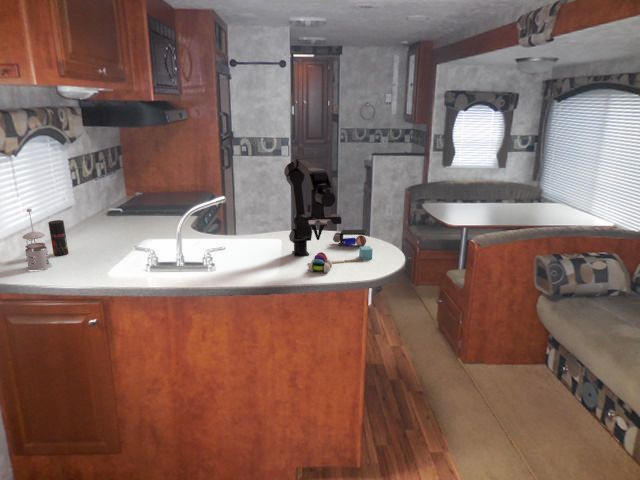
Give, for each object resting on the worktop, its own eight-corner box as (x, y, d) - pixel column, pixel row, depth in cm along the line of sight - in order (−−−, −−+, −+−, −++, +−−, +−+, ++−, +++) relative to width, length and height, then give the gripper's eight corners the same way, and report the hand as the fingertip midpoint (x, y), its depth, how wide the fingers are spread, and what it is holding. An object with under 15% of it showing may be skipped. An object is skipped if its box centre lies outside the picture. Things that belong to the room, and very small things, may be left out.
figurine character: (333, 249, 233) (366, 247, 230) (331, 233, 230) (364, 231, 228) (335, 245, 239) (367, 243, 236) (333, 230, 237) (365, 227, 234)
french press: (31, 273, 200) (20, 212, 193) (20, 267, 207) (9, 208, 200) (56, 267, 207) (46, 208, 200) (45, 261, 214) (35, 204, 207)
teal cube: (359, 256, 218) (359, 246, 217) (369, 255, 219) (369, 246, 218) (362, 259, 214) (362, 249, 213) (372, 259, 215) (372, 249, 214)
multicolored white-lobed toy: (333, 267, 206) (333, 250, 204) (327, 275, 197) (327, 257, 195) (313, 265, 208) (313, 248, 206) (306, 273, 199) (306, 256, 197)
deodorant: (68, 255, 222) (63, 222, 218) (53, 257, 219) (48, 224, 215) (68, 251, 227) (63, 219, 223) (53, 253, 224) (48, 221, 220)
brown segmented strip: (307, 264, 209) (307, 263, 209) (360, 259, 214) (360, 258, 214) (308, 265, 207) (308, 264, 207) (362, 260, 212) (362, 260, 212)
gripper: (340, 197, 204) (340, 234, 209) (294, 197, 204) (295, 234, 209) (341, 203, 194) (341, 241, 198) (293, 203, 194) (294, 242, 198)
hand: (317, 239), depth 201 cm, fingers closed
